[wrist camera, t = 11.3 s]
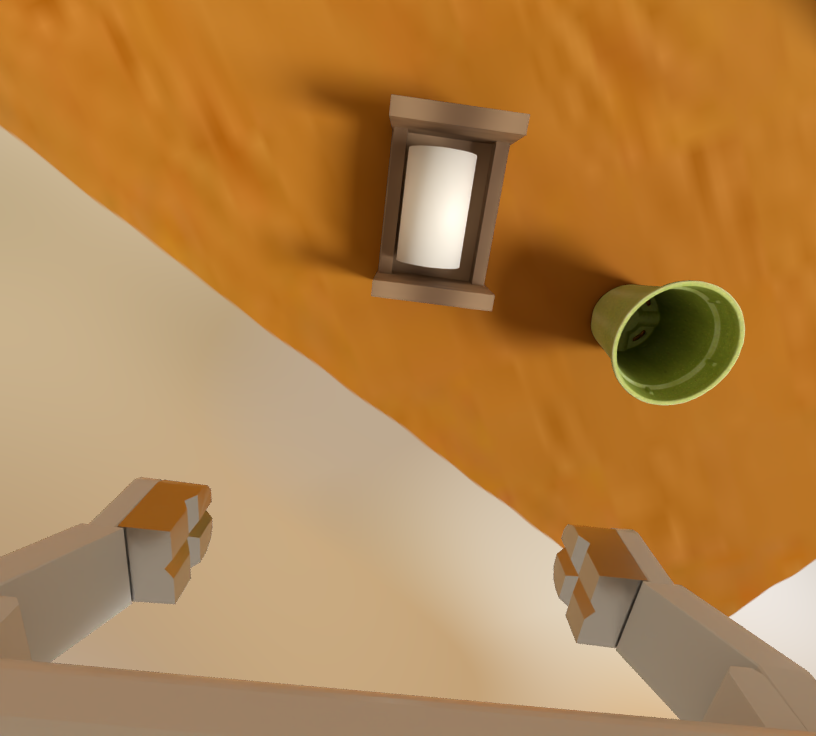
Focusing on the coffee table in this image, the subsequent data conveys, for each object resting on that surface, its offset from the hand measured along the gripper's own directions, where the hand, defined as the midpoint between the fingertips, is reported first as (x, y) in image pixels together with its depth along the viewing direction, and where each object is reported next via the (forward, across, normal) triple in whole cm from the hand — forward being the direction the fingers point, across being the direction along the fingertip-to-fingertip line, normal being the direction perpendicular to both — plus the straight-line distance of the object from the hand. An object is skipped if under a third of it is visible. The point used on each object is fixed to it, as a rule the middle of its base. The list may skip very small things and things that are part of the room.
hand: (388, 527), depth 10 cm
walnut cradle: (+31, -2, -7) cm, 32 cm away
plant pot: (+31, -20, 0) cm, 37 cm away
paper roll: (+30, -2, -7) cm, 31 cm away
